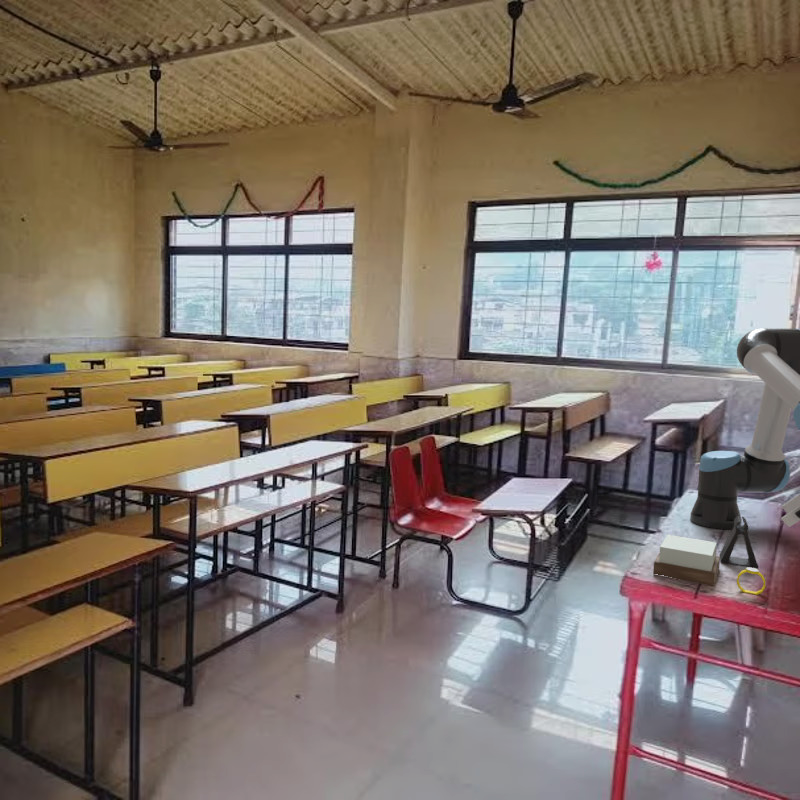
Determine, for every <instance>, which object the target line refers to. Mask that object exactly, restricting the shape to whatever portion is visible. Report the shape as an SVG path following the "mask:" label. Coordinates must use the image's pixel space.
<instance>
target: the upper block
mask: <svg viewBox="0 0 800 800" xmlns="http://www.w3.org/2000/svg"><path fill="white" fill-rule="evenodd" d="M659 553H660V556H659V562H662V563H667V564H673V565H678V566H683V567H689V568H694V569H700V570H705V571H711V570H712V567H713V564H714V561H715V558H716V556H717V541H716V542H715V541H709V540H703V539H696V538H692V537H691V538H690V537H684V536H679V535H673V534H667V535H666V537H665V538H664V540H663V541H662V543H661V545H660V547H659Z"/></svg>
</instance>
